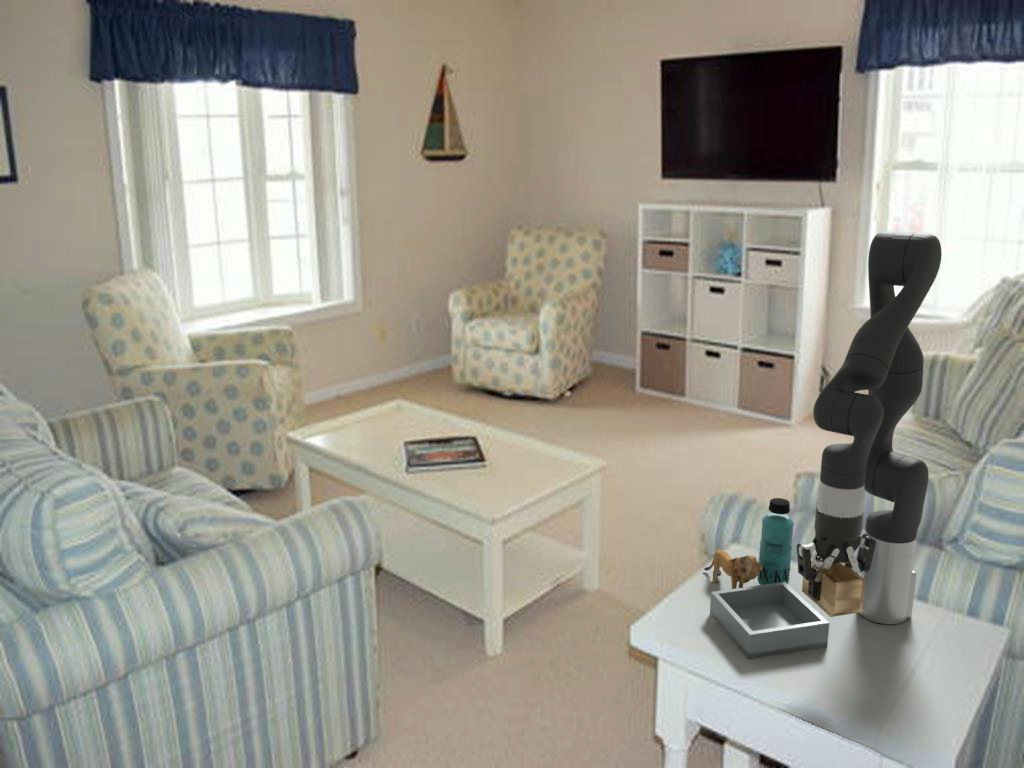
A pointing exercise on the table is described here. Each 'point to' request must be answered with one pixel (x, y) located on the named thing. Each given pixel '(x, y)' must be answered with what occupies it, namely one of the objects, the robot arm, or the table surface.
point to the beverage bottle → (776, 543)
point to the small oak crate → (839, 591)
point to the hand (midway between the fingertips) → (831, 595)
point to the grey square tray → (768, 620)
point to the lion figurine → (735, 568)
